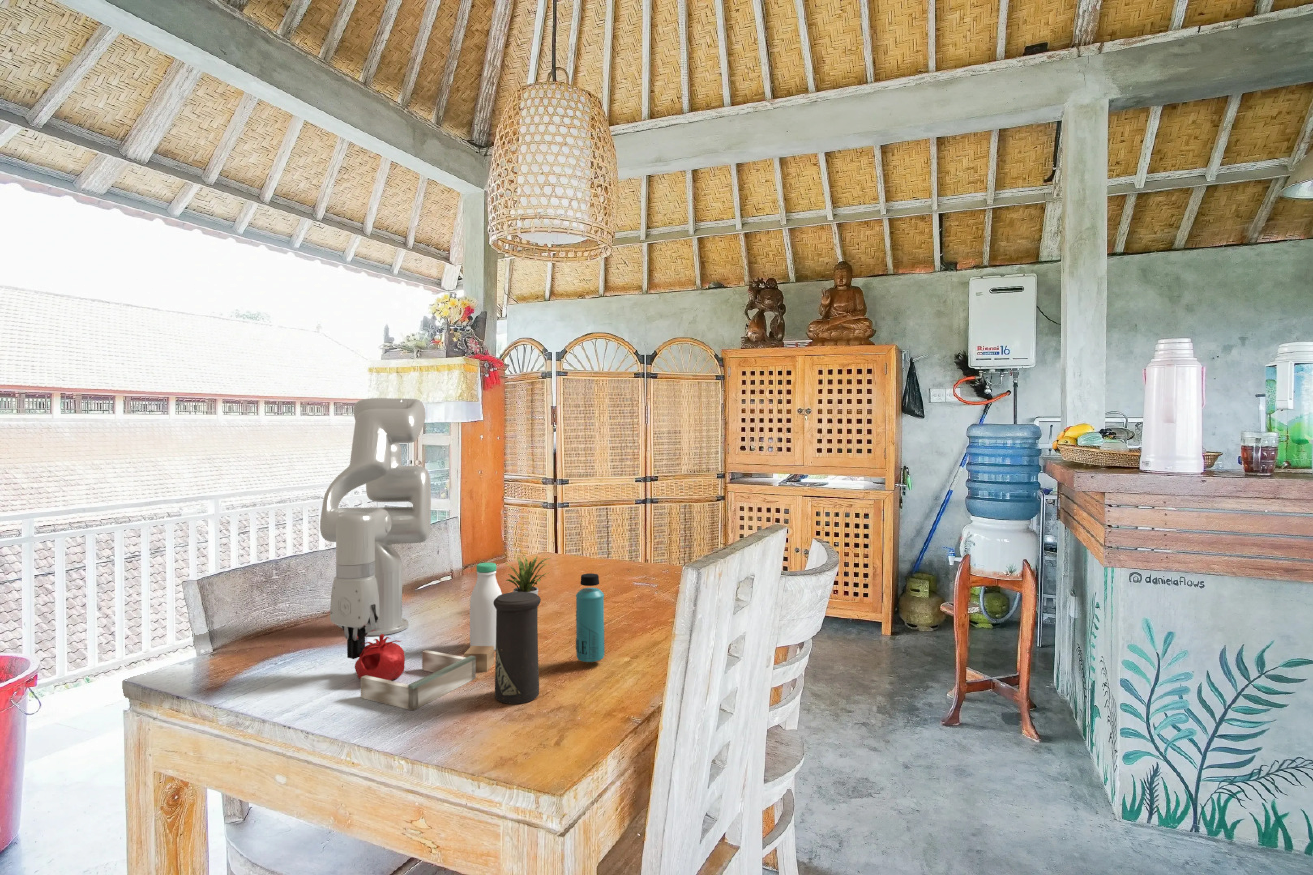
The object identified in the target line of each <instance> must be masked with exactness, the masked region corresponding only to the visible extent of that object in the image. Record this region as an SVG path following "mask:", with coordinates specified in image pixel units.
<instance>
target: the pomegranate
mask: <svg viewBox="0 0 1313 875" xmlns="http://www.w3.org/2000/svg"><path fill="white" fill-rule="evenodd" d="M378 638H379V639H378ZM378 638H374V641H375V642H371V641H368V642H365V643H363V644H365V648H364V649H363V651H362V653H361V654H360V656H359V657H358V659H357V660H356V661H355V663H354V669H355V673H356V674H355V675H357V677H358V679H360V680H361V677H363V676H365V675H367V676H372V677H376V678H381V679H385V680H390V681H394V680H396V679H398V678H400V677H401V676H402V675H403V673H404V671H405V660H406V656H405V650H404V649H403V647H402V646H400V645H399V644H397V643H398V642H399V643H400V642H402V640H393V641H388V642H387V640H388V639H390V637H388V636H386V637H385V635H384V634H381V635H378ZM395 642H397V643H395ZM366 644H367V645H366Z"/></svg>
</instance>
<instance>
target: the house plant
mask: <svg viewBox="0 0 1313 875" xmlns="http://www.w3.org/2000/svg"><path fill="white" fill-rule="evenodd" d="M520 555H521V554H520ZM522 555H523V556H522ZM522 555H521V556H522V559H523V561H522V560H521V558H520V557H517V563H518V571H519V572H518V571H517V570H516V568H514V567H513V566H512V565H510V564H508V563H507V562H505V561H503V563H505V564H506V565H508V567H510V569H511V570H512V571H513V572H514V573H515V575H516V577H515V576H513V575H512V574H509V573H508V576H509V577H510V578H511V579H505V581H507V582H510V583H512V584H513V585H515V586H516V587H514V588H513V590H512V592H531V593H535V594H537V595H538V596H539V594H538V593H539V588H538V587H537V586H538V583H541V582H540V581H541V579H542V577H543V578H545V579H546V578H547V577H546V576H545V575H548V574H549V572H546V573H544V574H539V572H540V570H541V569H542V568H543V567H545V566H547V565H549V563H544V562H545V561H547V560H550V559H551V557H549V558H544V559H542V560H540V562H538V563H537V561H538V560H537V559H538V556H535V557H534V558H533V559H532V560H531V561H529V562H528V559H527V557H526V555H525V554H524V553H522ZM536 564H537V565H536ZM535 565H536V566H535ZM540 565H542V566H540ZM538 568H539V569H538ZM537 569H538V570H537ZM536 570H537V572H536ZM535 572H536V573H535ZM534 574H535V575H534ZM533 575H534V576H533ZM536 578H537V579H536ZM535 585H536V586H535Z"/></svg>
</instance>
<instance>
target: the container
mask: <svg viewBox="0 0 1313 875" xmlns="http://www.w3.org/2000/svg"><path fill="white" fill-rule="evenodd" d="M540 603H541V597H540V596H539V594H538V595H537V594H535V593H531V592H513V591H512V592H506V593H502V595H499V596H498V597H497V598H496V599H495V600H494V603H493V604H494V606H495V608H496V650H495V661H494V665H495V666H494V667H495V669H494V670H495V672H494V698H495V699H496V700H497V701H498V702H500V703H504V704H511V705H515V704H517V705H518V704H525V703H529V702H531V701H534V700H535V699H537V698H538V696H540V695H539V694H540V680H539V679H540V675H539V674H540V673H539V637H538V636H539V633H538V628H539V627H538V625H539V624H538V623H539V621H538V618H539V617H538V612H539V610H538V608H539V605H540Z"/></svg>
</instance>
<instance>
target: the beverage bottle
mask: <svg viewBox="0 0 1313 875" xmlns="http://www.w3.org/2000/svg"><path fill="white" fill-rule="evenodd" d="M580 585H581V586H584V588H581V589H579V591H578V592H577V593H576V594H575V599H576V602H575V603H576V605H575V606H576V608H575V609H576V610H575V620H576V621H575V622H576V626H575V627H576V628H575V630H576V631H575V633H576V634H575V635H576V636H575V645H576V646H575V656H576V658H577V660H578V661H580V662H584V663H585V662H587V663H592V662H599V661H601V660H603V659H604V657H605V653H606V651H605V647H606V643H605V622H604V621H605V616H604V615H605V611H604V610H605V607H604V606H605V604H604V603H605V602H604V601H605V600H604V599H605V598H604V597H605V594H604V592H603V591H602V590H601V589H599V588H597V587H592V586H598V585H600V576H599V573H592V572H591V573H590V572H589V573H584V574H581V576H580ZM585 586H586V587H585Z"/></svg>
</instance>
